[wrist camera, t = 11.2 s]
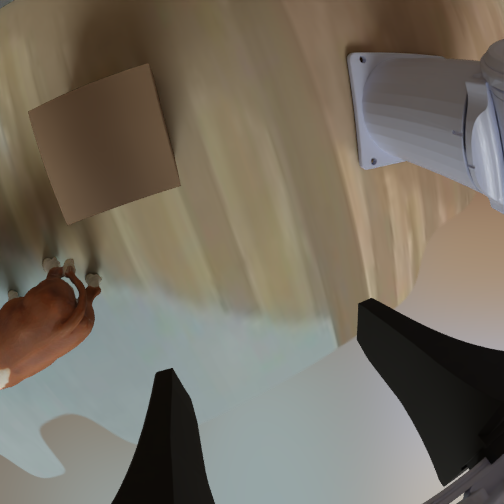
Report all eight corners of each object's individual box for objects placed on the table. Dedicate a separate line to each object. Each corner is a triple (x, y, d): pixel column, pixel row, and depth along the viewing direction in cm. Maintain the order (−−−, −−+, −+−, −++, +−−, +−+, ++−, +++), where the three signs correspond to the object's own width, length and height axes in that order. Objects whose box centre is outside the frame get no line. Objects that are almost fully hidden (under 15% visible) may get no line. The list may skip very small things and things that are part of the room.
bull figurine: (-32, 305, 17) (-72, 379, 10) (89, 227, 17) (55, 309, 10) (0, 344, 19) (-27, 422, 12) (124, 281, 20) (116, 376, 13)
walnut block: (153, 75, 15) (148, 63, 9) (174, 158, 17) (180, 186, 12) (69, 105, 14) (28, 111, 9) (94, 185, 16) (67, 225, 11)
